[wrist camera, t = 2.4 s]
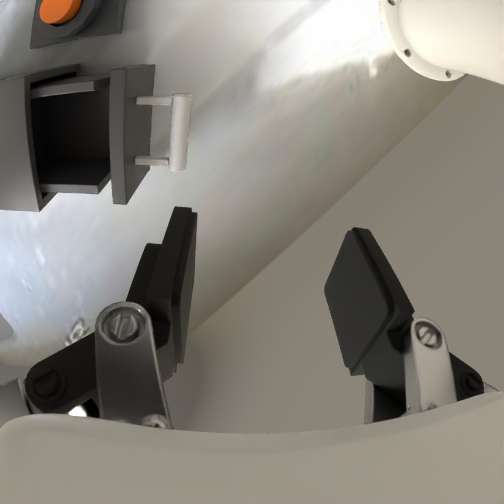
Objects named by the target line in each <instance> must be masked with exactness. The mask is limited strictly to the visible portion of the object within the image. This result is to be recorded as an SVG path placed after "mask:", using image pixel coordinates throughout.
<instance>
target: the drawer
mask: <svg viewBox="0 0 504 504" xmlns="http://www.w3.org/2000/svg"><path fill="white" fill-rule="evenodd" d="M154 74H155V64H145V65H136V66H129V67H123V68H117V69H112V70H111V73H109V74H97V75H87V76H78V77H70V78H63V79H57V80H51V81H45V82H40V83H37V84H34V85H31V86H30V96H31V119H32V132H33V143H34V152H35V159H36V166H37V173H38V179H39V185H40V190H41V192H60V193H86V194H99V193H100V192H101V190H102V189H103V188H104V187H105V185H106V184H107V183H108V182H109V181H110V180H111V182H112V195H113V204H122V205H127V203H128V202H129V200H130V199H131V197H132V195H133V194H134V192H135V191H136V189H137V188H138V186H139V184H140V183H141V181H142V180H143V178H144V177H145V175H146V174H147V172H148V171H149V170H150V165H156V166H168V165H169V169H170V170H172V171H183V170H185V169H186V161H187V147H188V134H189V123H190V113H191V103H192V95H190V94H174V95H173V97H169V96H153V85H154ZM152 105H172V116H171V131H170V149H169V157H155V156H150V138H151V114H152Z"/></svg>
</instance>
